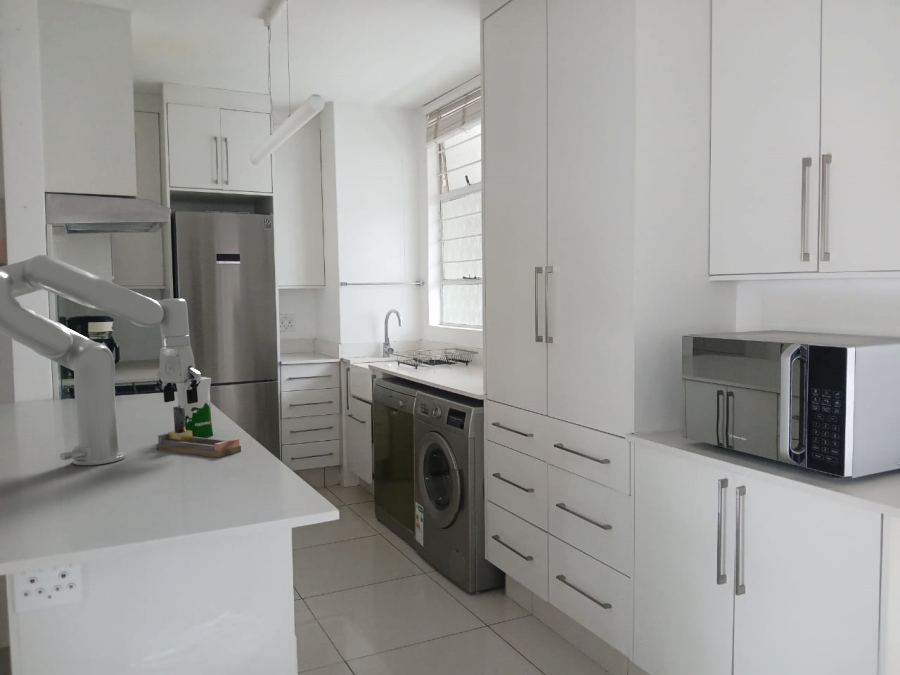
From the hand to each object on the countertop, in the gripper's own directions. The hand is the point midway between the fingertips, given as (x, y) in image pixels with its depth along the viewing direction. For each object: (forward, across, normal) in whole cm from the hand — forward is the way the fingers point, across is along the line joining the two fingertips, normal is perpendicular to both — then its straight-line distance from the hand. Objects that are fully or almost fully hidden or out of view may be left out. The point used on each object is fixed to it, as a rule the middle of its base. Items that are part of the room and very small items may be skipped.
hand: (181, 402), depth 197 cm
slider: (+11, 0, -1) cm, 11 cm away
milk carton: (+14, -9, +12) cm, 20 cm away
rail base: (+13, +7, -1) cm, 15 cm away
